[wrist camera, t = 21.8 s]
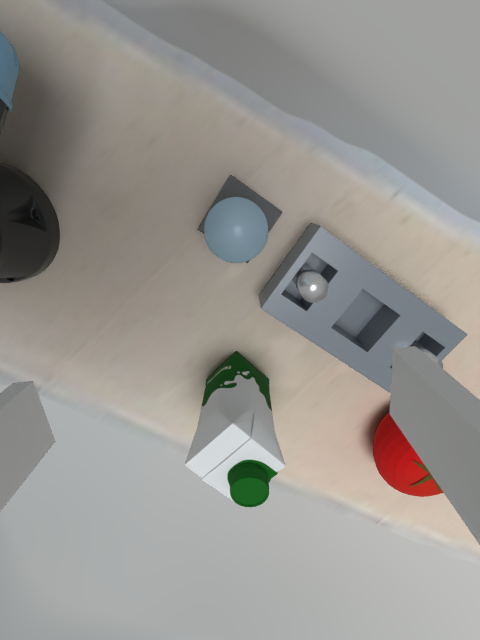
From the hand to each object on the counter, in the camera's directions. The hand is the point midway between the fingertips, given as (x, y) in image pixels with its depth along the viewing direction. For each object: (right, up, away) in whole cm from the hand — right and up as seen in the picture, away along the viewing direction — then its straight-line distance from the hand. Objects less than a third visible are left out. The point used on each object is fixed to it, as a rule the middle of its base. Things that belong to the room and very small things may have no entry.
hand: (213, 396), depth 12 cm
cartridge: (+1, +16, +31) cm, 34 cm away
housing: (+17, +5, +35) cm, 39 cm away
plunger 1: (+9, +9, +31) cm, 34 cm away
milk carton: (+1, -6, +39) cm, 40 cm away
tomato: (+28, -15, +42) cm, 53 cm away
